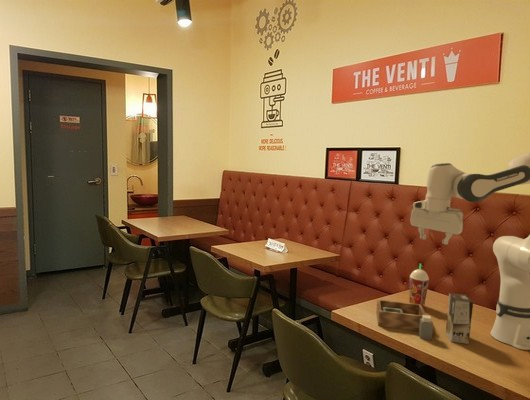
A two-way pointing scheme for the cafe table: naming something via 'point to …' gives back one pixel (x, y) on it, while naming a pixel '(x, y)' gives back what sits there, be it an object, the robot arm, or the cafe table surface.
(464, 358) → the cafe table surface
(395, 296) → the cafe table surface
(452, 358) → the cafe table surface
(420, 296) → the smoothie
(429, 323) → the plug
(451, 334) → the coffee box
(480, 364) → the cafe table surface
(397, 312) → the crate
